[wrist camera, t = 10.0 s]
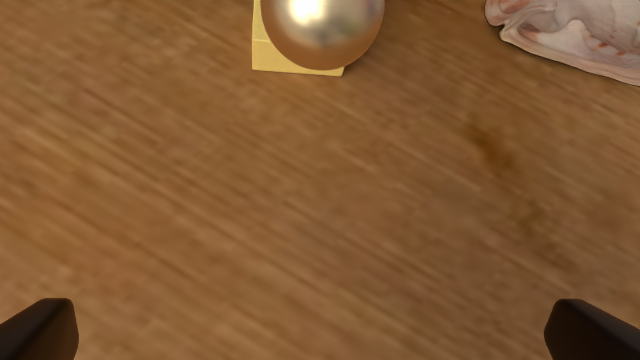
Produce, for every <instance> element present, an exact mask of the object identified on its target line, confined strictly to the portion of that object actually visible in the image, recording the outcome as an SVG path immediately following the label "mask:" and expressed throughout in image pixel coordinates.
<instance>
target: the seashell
mask: <svg viewBox="0 0 640 360" xmlns="http://www.w3.org/2000/svg"><path fill="white" fill-rule="evenodd" d="M485 16H486V18H487V20H488V22H489V23H490V24H491V25H493V26H499V25H502V24H505V26H504V28H503V29H502V30H501V31H500V33H499V35H500V38H501V39H502V40H503V41H505V42H509V43H512V44H514V45H516V46H518V47H520V48H522V49H524V50H526V51H528V52H530V53H533V54H536V55H539V56H542V57H545V58H548V59H551V60H555V61H559V62H562V63H565V64H567V65H570V66H573V67H576V68H578V69H581V70H584V71H586V72H590V73H593V74H597V75H602V76H606V77H610V78H613V79H615V80H618V81H620V82H623V83H627V84H631V85H636V86H640V0H487V1H486V4H485Z"/></svg>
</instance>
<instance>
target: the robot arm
mask: <svg viewBox="0 0 640 360" xmlns="http://www.w3.org/2000/svg"><path fill="white" fill-rule="evenodd" d="M544 339H545V343H546V345H547V347H548V349H549V352H550V354H551V356H552V358H553V360H640V330H639V329H638V328H636V327H634V326H632V325H630V324H628V323H626V322H624V321H622V320H620V319H618V318H616V317H614V316H612V315H610V314H609V313H607V312H605V311H603V310H601V309H599V308H597V307H595V306H593V305H591V304H589V303H587V302H585V301H583V300H580V299H560V300H558V301H557V302H556V303H555V304H554V307H553V309H552V312H551V314H550V317H549V319H548V322H547V324H546V326H545V329H544ZM78 342H79V334H78V328H77V323H76V317H75V312H74V307H73V303H72V302H71V300H69V299H67V298H45V299H41V300H40V301H38V302H36V303H34V304H33V305H31V306H29V307H28V308H26V309H25V310H23V311H21V312H20V313H18V314H16V315H15V316H13V317H12V318H10V319H8V320H7V321H5V322H3V323H2V324H0V360H74V357H75V354H76V351H77V347H78Z"/></svg>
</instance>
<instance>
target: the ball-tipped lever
mask: <svg viewBox="0 0 640 360" xmlns="http://www.w3.org/2000/svg"><path fill="white" fill-rule="evenodd" d="M384 4H385V2H384V0H260V5H261V16H262V21H263V24H264V27H265V30H266V33H267V35H268V37H269V38H270V40H271V42H272V43H273V45H274V46H275V48H276V49H277V50H278V51H279V52H280V53H281V54H282V55H283V56H284V57H286V58H287V59H288V60H290V61H291V62H293V63H295V64H296V65H298V66H301V67H303V68H307V69H311V70H317V71H327V70H333V69H338V68H341V67H344V66H346V65H348V64H350V63H352V62H354V61H355V60H356V59H358V58H359V57H361V56H362V55H363V54H364V53H365V52H366V51H367V50H368V48H369V47H370V46H371V44H372V43H373V41H374V40H375V38H376V36H377V34H378V32H379V29H380V27H381V24H382V20H383V15H384Z"/></svg>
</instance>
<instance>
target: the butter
mask: <svg viewBox="0 0 640 360" xmlns="http://www.w3.org/2000/svg"><path fill="white" fill-rule="evenodd" d="M344 67H345V66H344ZM344 67H341V68H338V69H333V70H327V71H317V70H311V69H307V68H303V67H301V66H298V65H296V64H295V63H293V62H291V61H290V60H288V59H287V58H286V57H284V56H283V55H282V54H281V53H280V52H279V51H278V50H277V49H276V48H275V46H274V45H273V43H272V42H271V40H270V38H269V37H268V35H267V33H266V30H265V27H264V24H263V21H262V16H261V5H260V0H254V11H253V28H252V69H253V70H262V71H276V72H289V73H302V74H316V75H329V76H342V73H343V70H344Z"/></svg>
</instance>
